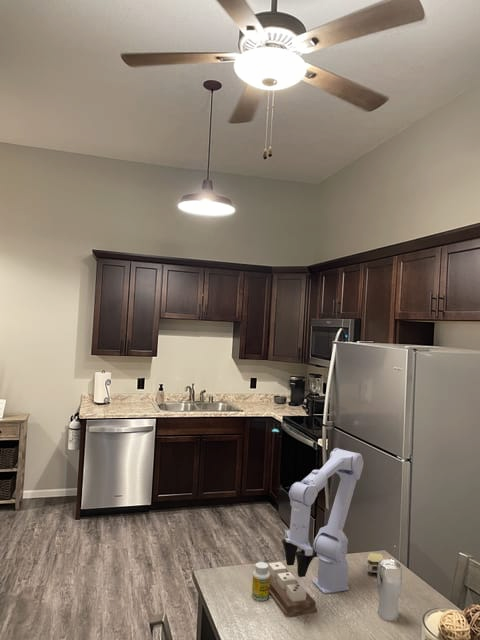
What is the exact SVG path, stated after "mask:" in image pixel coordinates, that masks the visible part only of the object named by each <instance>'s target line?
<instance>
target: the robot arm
mask: <svg viewBox="0 0 480 640" xmlns="http://www.w3.org/2000/svg"><path fill="white" fill-rule="evenodd" d="M364 464H365V463H364V459H363V456H362V454H361V453H359V452H353V451H349V450H345V449H341V448H339V447H335V448H334V449H333V450H332V451H330V453H329V459H328V460H327V461H326V463H324V464H323V466H322V467H321V468H320V469H313V470H312V471H311V472H310V473H309V474H308V475H307V476H305V477H304V478H303V479H302V480H301V481H295V482H294V483H293V484H292V485H291V486H290V488H289V491H288V497H289V501H290V502H289V504H290V507H291V513H290V522H289V523H290V524H289V529H285V530H284V539H282V540H281V543H282V545H283V549H284V555H285V561H286V566H294V565H295V561H296V562H297V564H296V565H297V576H298V578H304V577H306V575H307V573H308V570H309V567H310V564H311V563H312V561H313V559H314V558H315V556H316V557H318V561H317V562H318V563H317V564H318V565H317V578H316V579H312V580H311V581H312V583H313V584H314V585H315V586H316V587H317V588H318V589H319V591H321V592H322V593H323V594H330V593H337V592H342V591H343V592H344V591H350V587H349V571H350V570H349V564H348V561H347V559H346V557H347V555H348V543H349V539H348V538H347V536H346V534H345V532H344V531H343V529H344V527H345V524H346V520H347V516H348V512H349V509H350V504H351V501H352V498H353V495H354V490H355V488H356V483H357V481H359V480H360V478H361V475H362V471H363V468H364ZM334 474H337V475H338V476H339V479H340V481H339V484H338V487H337V491H336V494H335V497H334V502H333V505H332V507H331V512H330V515H329V518H328V521H327V524H326V525H325V526H322V527H320V528H319V530H318V533H317V534H316V536H315V538H314V540H313V547H312V546H311V544H310V541H309V533H310V532H309V531H310V522H311V521H310V519H311V507H312V505H313V504H314V503H315V501H316V498H317V497H318V493H319V492H320V491H321V490H323V489H324V487H325V486H326V485H327V484H328V478H330V477H332V476H333V475H334ZM333 537H334V538H333ZM298 549H300V551H299V550H298ZM313 551H314V552H315V553H316V555H315V553H314V552H313Z"/></svg>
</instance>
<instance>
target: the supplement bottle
mask: <svg viewBox="0 0 480 640" xmlns="http://www.w3.org/2000/svg"><path fill="white" fill-rule="evenodd" d="M254 567H255V568H254V571H253V573H252V589H251V591H252V593H251V595H252V598H253V599H254V600H256V601H267V600H268V598H269V597H270V595H269V588H270V573H269V571H268V563H266V562H263V561H258V562H256V563H255V566H254Z"/></svg>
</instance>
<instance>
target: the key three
mask: <svg viewBox="0 0 480 640" xmlns="http://www.w3.org/2000/svg"><path fill="white" fill-rule="evenodd" d="M306 592H307V590H306V589H305V587H304V586H303V585H302V584H301V583H300V582H298V584H291V585H287V588H286V595H287V597H288V598H289V599H290V600H291V602H299V601H305V600H306Z"/></svg>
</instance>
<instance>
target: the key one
mask: <svg viewBox="0 0 480 640" xmlns="http://www.w3.org/2000/svg"><path fill="white" fill-rule="evenodd" d="M267 564H268V571H269V573H270V576H271V577H272V578H273V579H274V578H277V574H279V573H286V569H287V567H286V566H285V565H284V564H283V563H282V562H281V561H278V562H269V563H267Z"/></svg>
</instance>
